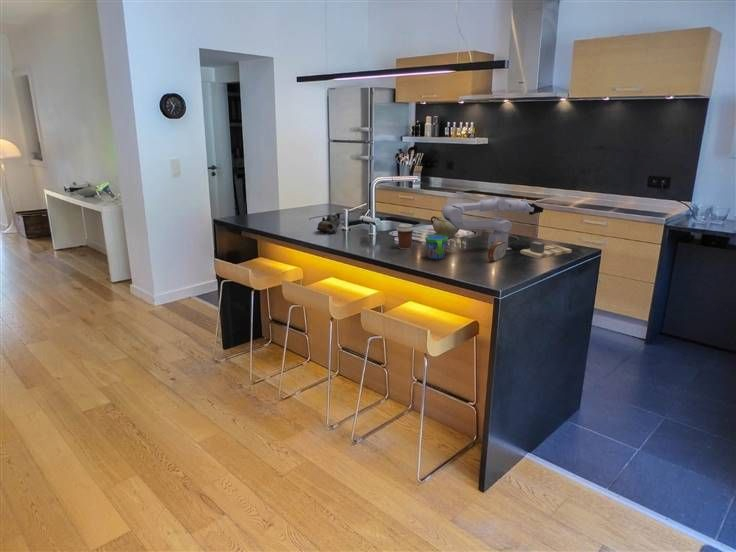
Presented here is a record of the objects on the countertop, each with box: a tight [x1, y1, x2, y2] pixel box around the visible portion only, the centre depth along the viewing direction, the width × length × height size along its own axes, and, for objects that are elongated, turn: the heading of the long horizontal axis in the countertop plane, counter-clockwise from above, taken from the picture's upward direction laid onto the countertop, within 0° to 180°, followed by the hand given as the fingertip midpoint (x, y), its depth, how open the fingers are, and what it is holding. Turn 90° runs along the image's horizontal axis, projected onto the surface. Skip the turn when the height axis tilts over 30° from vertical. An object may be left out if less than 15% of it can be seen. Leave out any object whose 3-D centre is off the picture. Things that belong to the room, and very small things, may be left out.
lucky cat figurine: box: [316, 212, 342, 235], centre depth 302 cm, size 15×12×14 cm
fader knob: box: [529, 241, 546, 253], centre depth 246 cm, size 4×5×4 cm
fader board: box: [519, 244, 573, 260], centre depth 249 cm, size 22×12×2 cm, turn 117°
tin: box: [487, 241, 507, 262], centre depth 239 cm, size 15×3×8 cm, turn 141°
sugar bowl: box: [430, 215, 460, 239], centre depth 284 cm, size 20×15×15 cm
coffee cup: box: [395, 223, 415, 250], centre depth 262 cm, size 9×9×12 cm
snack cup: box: [425, 234, 449, 260], centre depth 243 cm, size 16×10×10 cm
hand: (538, 208), depth 257 cm, fingers open, 7 cm apart
